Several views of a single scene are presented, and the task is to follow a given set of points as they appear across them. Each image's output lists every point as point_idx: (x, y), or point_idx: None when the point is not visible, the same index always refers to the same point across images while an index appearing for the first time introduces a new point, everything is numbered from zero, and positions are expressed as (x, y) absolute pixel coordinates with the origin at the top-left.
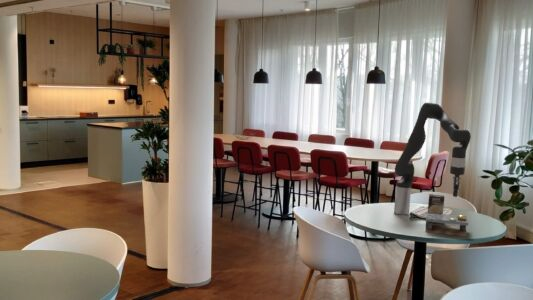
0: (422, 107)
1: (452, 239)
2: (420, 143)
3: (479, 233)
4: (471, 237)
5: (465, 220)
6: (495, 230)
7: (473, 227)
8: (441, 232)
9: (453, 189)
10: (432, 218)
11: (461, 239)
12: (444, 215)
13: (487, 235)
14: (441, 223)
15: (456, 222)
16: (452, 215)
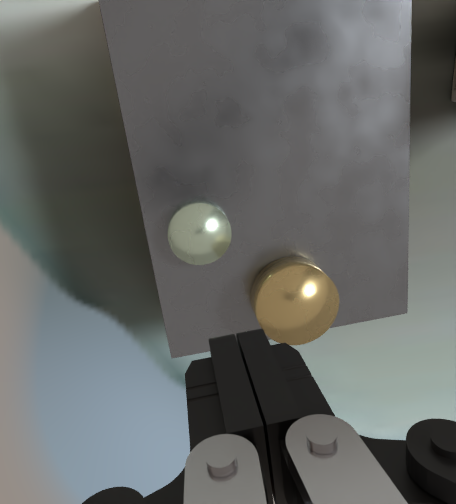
0: None
1: (13, 233)
2: None
3: None
4: (163, 332)
5: (254, 326)
6: (417, 418)
7: (434, 310)
8: None
9: (190, 453)
10: (140, 26)
11: (62, 286)
12: (356, 134)
13: None
14: (451, 99)
15: (153, 267)
16: (393, 204)
